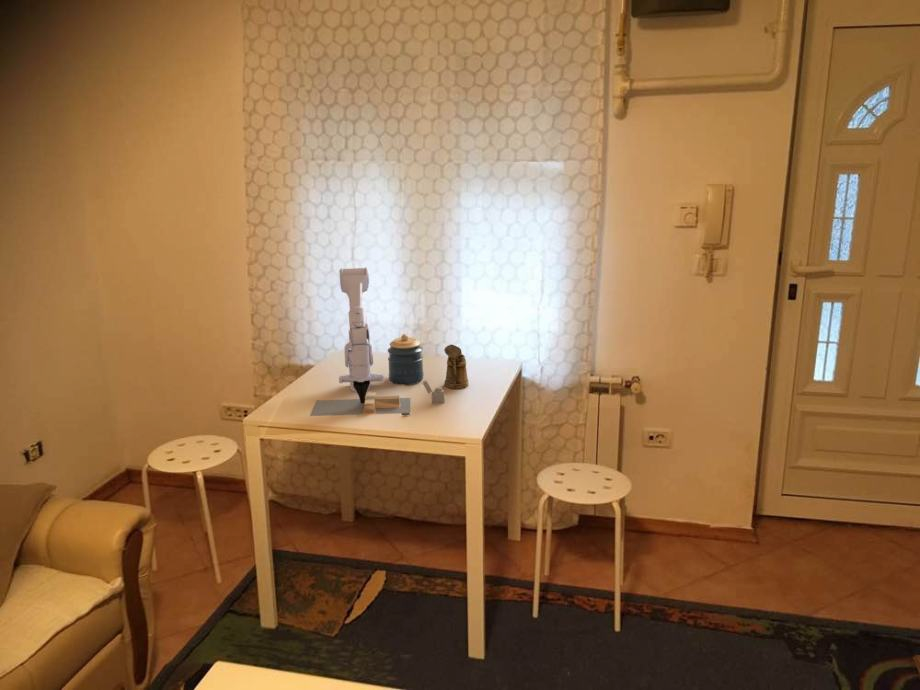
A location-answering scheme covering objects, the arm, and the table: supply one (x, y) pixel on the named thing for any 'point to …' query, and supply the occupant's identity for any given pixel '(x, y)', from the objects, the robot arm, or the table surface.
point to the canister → (405, 361)
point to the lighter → (435, 394)
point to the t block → (380, 401)
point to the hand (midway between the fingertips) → (362, 402)
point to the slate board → (355, 407)
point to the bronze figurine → (455, 368)
